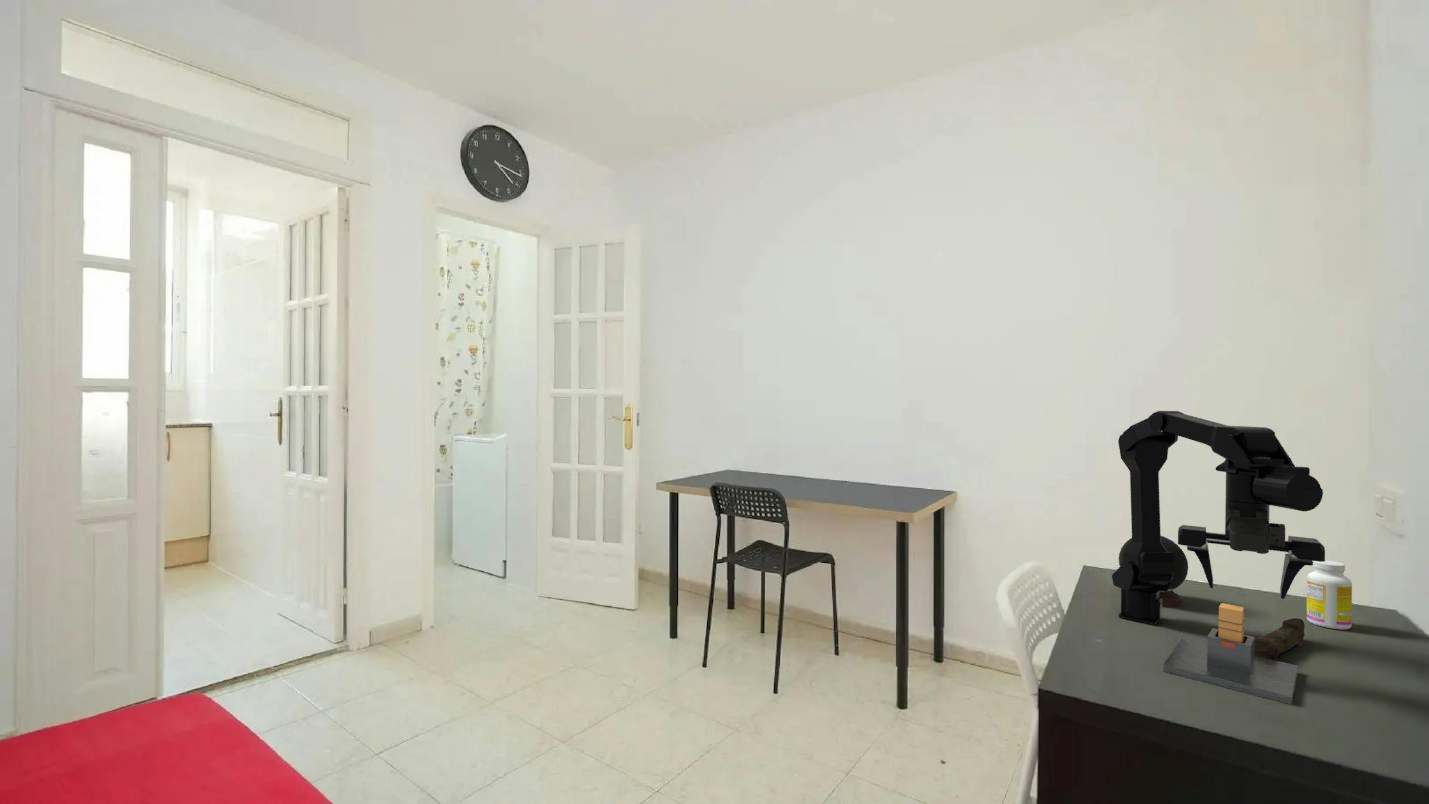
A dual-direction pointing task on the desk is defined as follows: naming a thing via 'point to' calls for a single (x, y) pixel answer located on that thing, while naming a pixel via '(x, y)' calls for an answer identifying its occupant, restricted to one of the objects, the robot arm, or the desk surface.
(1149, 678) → the desk surface
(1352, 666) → the desk surface
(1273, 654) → the rusty railroad spike
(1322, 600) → the supplement bottle
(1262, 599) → the desk surface
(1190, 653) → the jack stand base
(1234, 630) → the column
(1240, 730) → the desk surface
